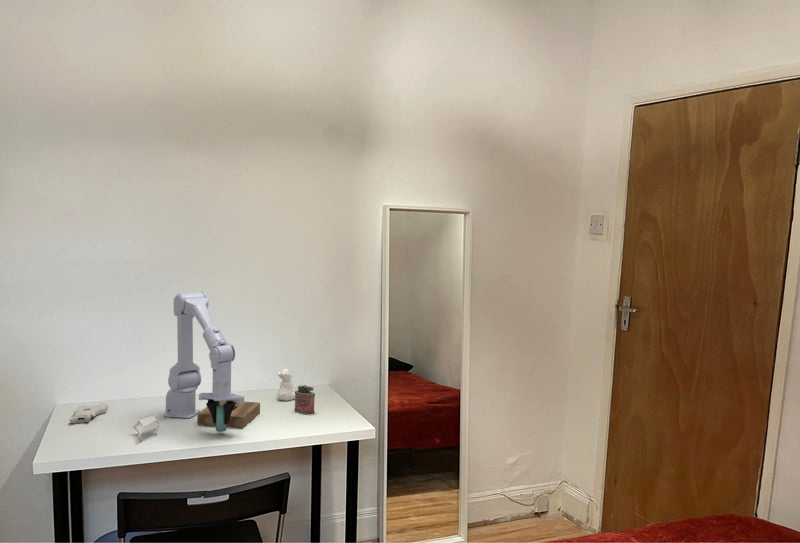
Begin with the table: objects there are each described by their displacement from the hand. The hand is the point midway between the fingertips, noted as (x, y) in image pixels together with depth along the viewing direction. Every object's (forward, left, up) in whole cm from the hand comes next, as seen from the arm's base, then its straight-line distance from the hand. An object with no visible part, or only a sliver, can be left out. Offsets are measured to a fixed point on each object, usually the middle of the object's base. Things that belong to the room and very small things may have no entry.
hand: (221, 422), depth 193 cm
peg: (0, 0, -2) cm, 2 cm away
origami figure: (-22, -7, -4) cm, 23 cm away
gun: (-50, +6, -4) cm, 51 cm away
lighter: (+20, +27, -4) cm, 34 cm away
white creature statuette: (+9, +41, -4) cm, 42 cm away
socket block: (-3, +14, -4) cm, 15 cm away
